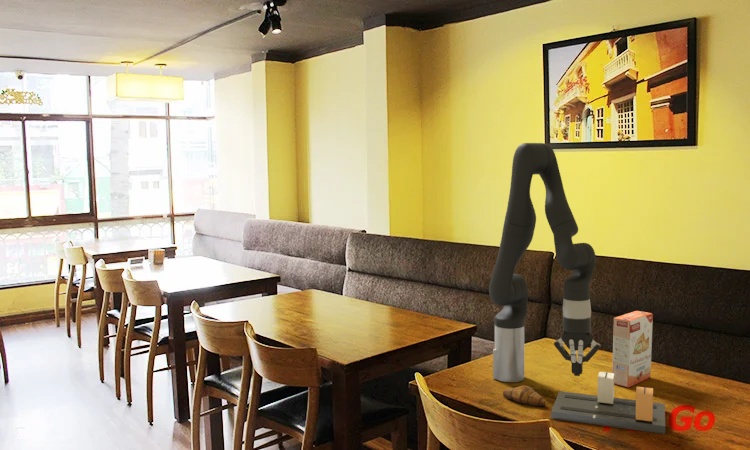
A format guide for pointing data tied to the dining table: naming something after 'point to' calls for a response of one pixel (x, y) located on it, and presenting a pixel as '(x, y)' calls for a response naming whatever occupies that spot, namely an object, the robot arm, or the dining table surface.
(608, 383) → the ivory fader
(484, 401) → the dining table surface
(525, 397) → the croissant
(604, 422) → the console
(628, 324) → the cracker box
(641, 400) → the orange block
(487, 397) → the dining table surface
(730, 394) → the dining table surface
